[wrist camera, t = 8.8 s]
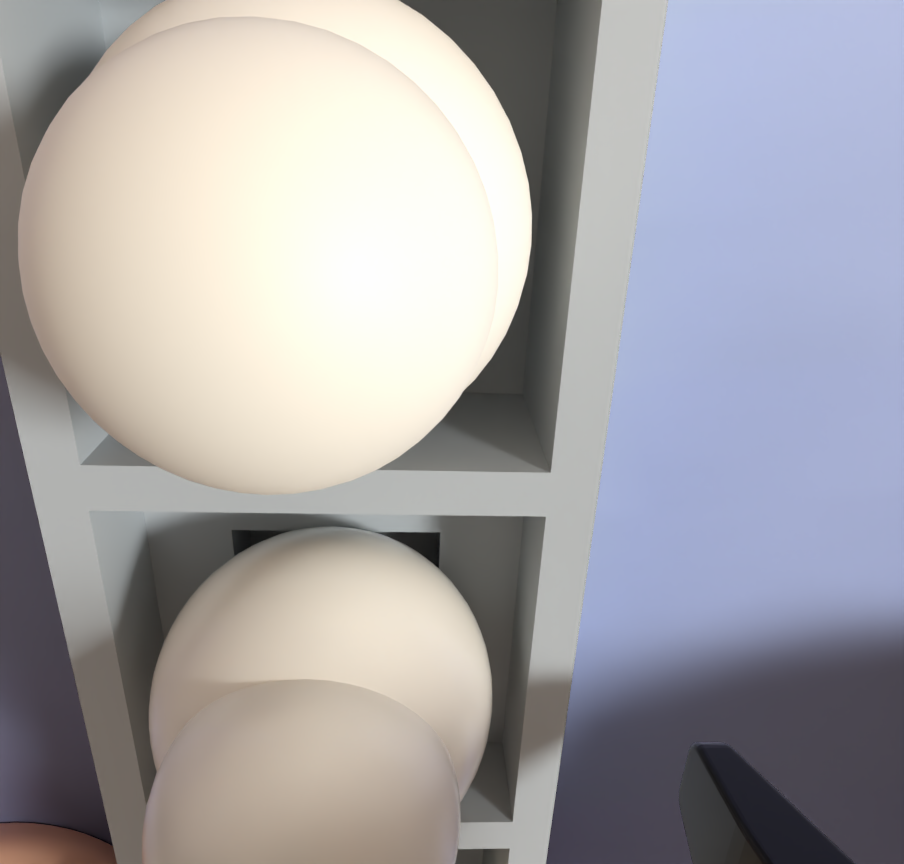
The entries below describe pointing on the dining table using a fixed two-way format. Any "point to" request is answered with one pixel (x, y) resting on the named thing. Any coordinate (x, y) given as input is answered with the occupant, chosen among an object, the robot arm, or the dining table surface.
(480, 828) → the egg carton
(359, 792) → the egg
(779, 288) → the dining table surface
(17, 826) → the egg cup
